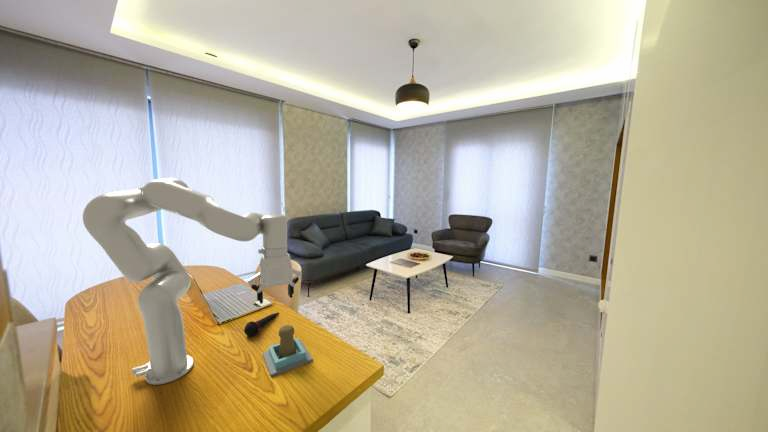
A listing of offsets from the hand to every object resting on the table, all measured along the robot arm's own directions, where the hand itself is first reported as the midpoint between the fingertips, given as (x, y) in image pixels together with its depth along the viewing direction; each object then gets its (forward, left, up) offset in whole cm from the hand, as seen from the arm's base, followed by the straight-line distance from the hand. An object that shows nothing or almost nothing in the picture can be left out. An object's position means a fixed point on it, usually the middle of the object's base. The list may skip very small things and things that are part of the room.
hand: (275, 299), depth 96 cm
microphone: (0, +23, -23) cm, 33 cm away
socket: (+2, -2, -22) cm, 22 cm away
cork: (+2, -2, -21) cm, 22 cm away
